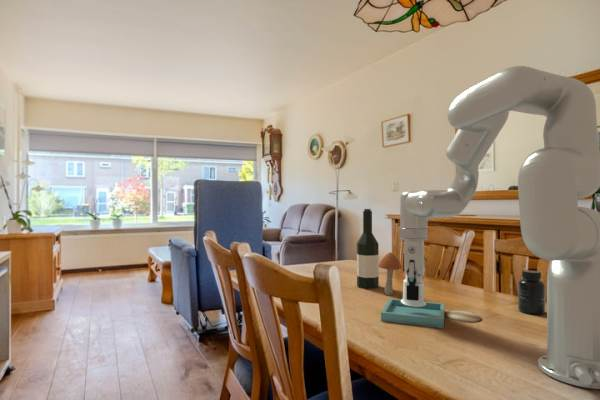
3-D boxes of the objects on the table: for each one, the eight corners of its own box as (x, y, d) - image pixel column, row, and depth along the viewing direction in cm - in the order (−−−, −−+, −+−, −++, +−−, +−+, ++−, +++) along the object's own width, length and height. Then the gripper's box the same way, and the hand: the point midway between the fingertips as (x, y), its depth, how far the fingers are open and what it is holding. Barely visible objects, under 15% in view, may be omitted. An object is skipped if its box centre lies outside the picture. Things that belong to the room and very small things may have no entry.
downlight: (394, 300, 109) (395, 267, 109) (414, 298, 112) (415, 265, 111) (411, 309, 102) (413, 273, 101) (432, 306, 104) (433, 271, 104)
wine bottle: (352, 285, 146) (352, 208, 146) (370, 283, 149) (370, 208, 149) (364, 289, 138) (364, 209, 138) (383, 287, 142) (382, 209, 142)
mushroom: (406, 296, 128) (406, 253, 128) (387, 298, 125) (387, 254, 125) (392, 291, 136) (392, 250, 136) (374, 293, 133) (374, 251, 133)
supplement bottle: (549, 316, 106) (549, 274, 106) (523, 314, 107) (523, 273, 108) (539, 309, 113) (539, 269, 113) (514, 308, 114) (514, 269, 114)
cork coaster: (481, 323, 99) (481, 321, 99) (445, 319, 103) (445, 318, 103) (479, 314, 108) (479, 312, 108) (446, 310, 111) (446, 309, 111)
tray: (443, 328, 96) (443, 319, 96) (381, 320, 102) (381, 312, 102) (444, 311, 111) (444, 303, 111) (389, 305, 117) (389, 298, 117)
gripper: (425, 237, 97) (425, 306, 97) (429, 232, 113) (429, 291, 113) (396, 236, 100) (396, 303, 100) (403, 231, 116) (403, 289, 116)
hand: (413, 296), depth 107 cm, fingers closed on downlight, 5 cm apart
